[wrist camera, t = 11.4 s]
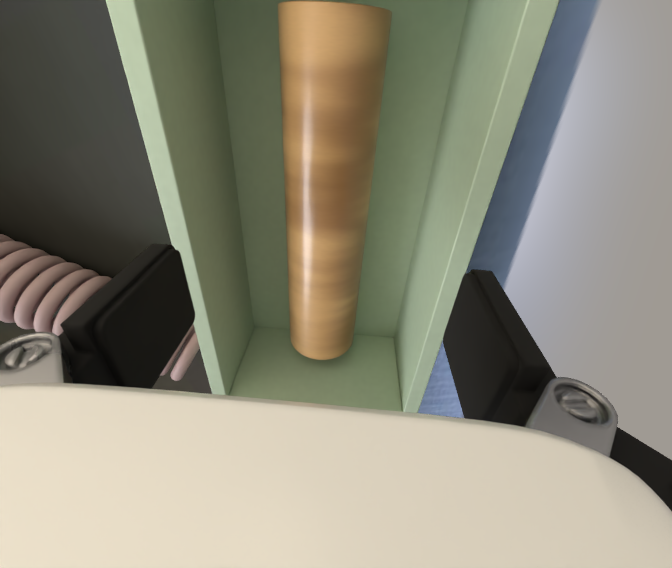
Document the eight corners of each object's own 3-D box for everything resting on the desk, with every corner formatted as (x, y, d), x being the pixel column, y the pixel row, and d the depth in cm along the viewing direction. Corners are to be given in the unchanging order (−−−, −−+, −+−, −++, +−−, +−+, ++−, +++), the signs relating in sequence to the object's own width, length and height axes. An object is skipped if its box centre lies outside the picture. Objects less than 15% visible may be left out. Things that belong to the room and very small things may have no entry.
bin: (507, -93, 12) (636, -219, 6) (402, 339, 24) (414, 422, 19) (183, -113, 12) (36, -252, 6) (246, 327, 24) (215, 405, 19)
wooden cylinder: (325, 14, 14) (252, 1, 11) (412, 14, 12) (349, -2, 9) (317, 307, 23) (276, 338, 20) (365, 333, 21) (327, 371, 18)
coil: (-135, 290, 18) (185, 397, 22) (-177, 228, 15) (198, 364, 19) (-51, 244, 22) (211, 343, 26) (-73, 186, 19) (226, 309, 23)
